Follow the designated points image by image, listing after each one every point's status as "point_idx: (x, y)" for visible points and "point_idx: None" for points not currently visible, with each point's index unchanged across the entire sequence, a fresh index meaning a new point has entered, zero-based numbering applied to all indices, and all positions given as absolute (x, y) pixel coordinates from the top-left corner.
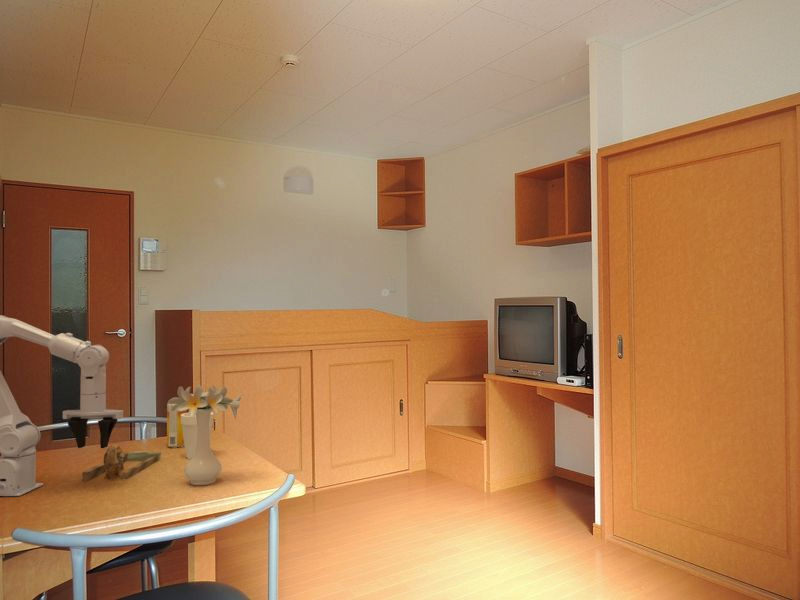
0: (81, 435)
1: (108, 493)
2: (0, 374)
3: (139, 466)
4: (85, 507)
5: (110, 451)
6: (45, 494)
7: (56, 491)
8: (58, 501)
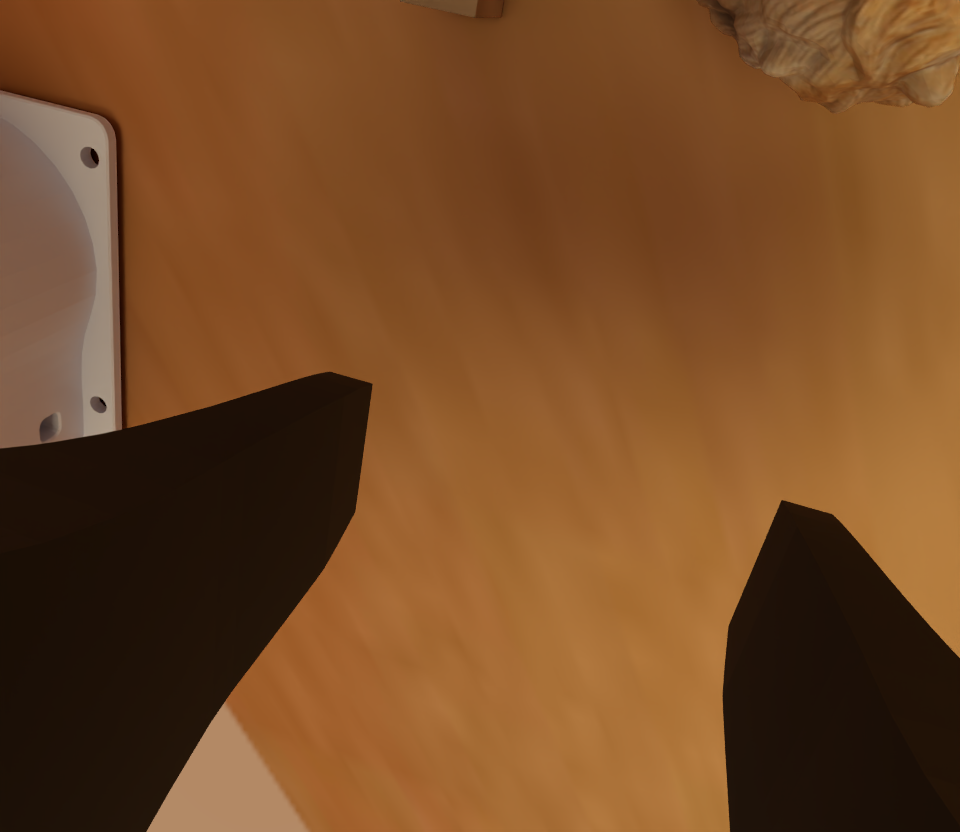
0: (237, 594)
1: None
2: None
3: None
4: (719, 819)
5: (820, 89)
6: None
7: (335, 360)
8: (471, 634)
